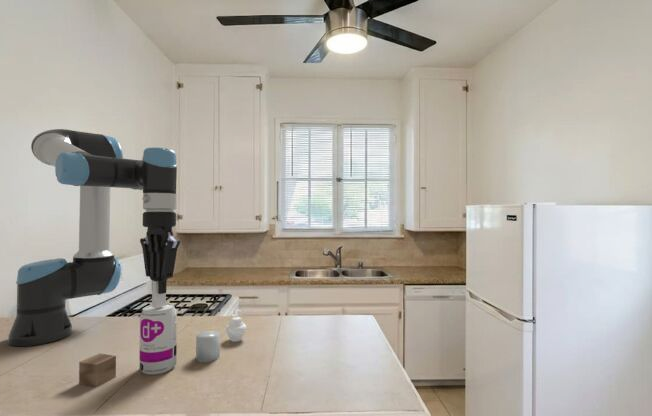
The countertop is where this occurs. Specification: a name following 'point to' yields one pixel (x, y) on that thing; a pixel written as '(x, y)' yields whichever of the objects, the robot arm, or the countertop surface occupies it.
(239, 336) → the white ribbed rounded piece
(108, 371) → the walnut block
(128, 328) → the countertop surface
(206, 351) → the white rounded cylinder
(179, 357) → the countertop surface
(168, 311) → the supplement can
